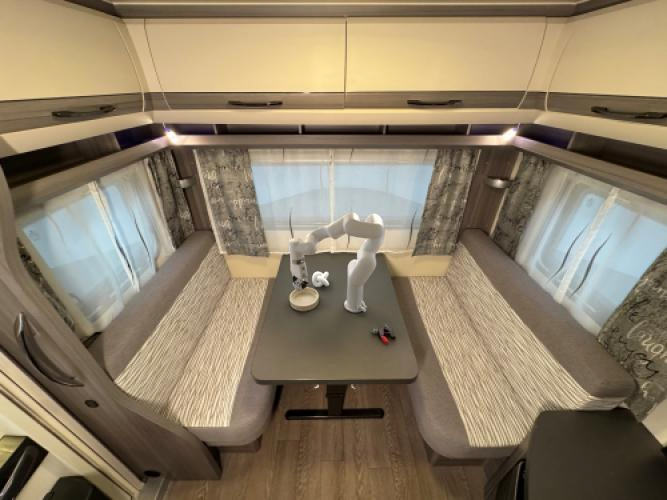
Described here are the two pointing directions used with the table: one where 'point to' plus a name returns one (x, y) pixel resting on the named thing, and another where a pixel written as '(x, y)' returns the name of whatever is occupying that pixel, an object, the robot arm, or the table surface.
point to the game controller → (298, 284)
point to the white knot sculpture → (320, 279)
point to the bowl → (304, 299)
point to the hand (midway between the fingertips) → (299, 284)
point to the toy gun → (384, 333)
